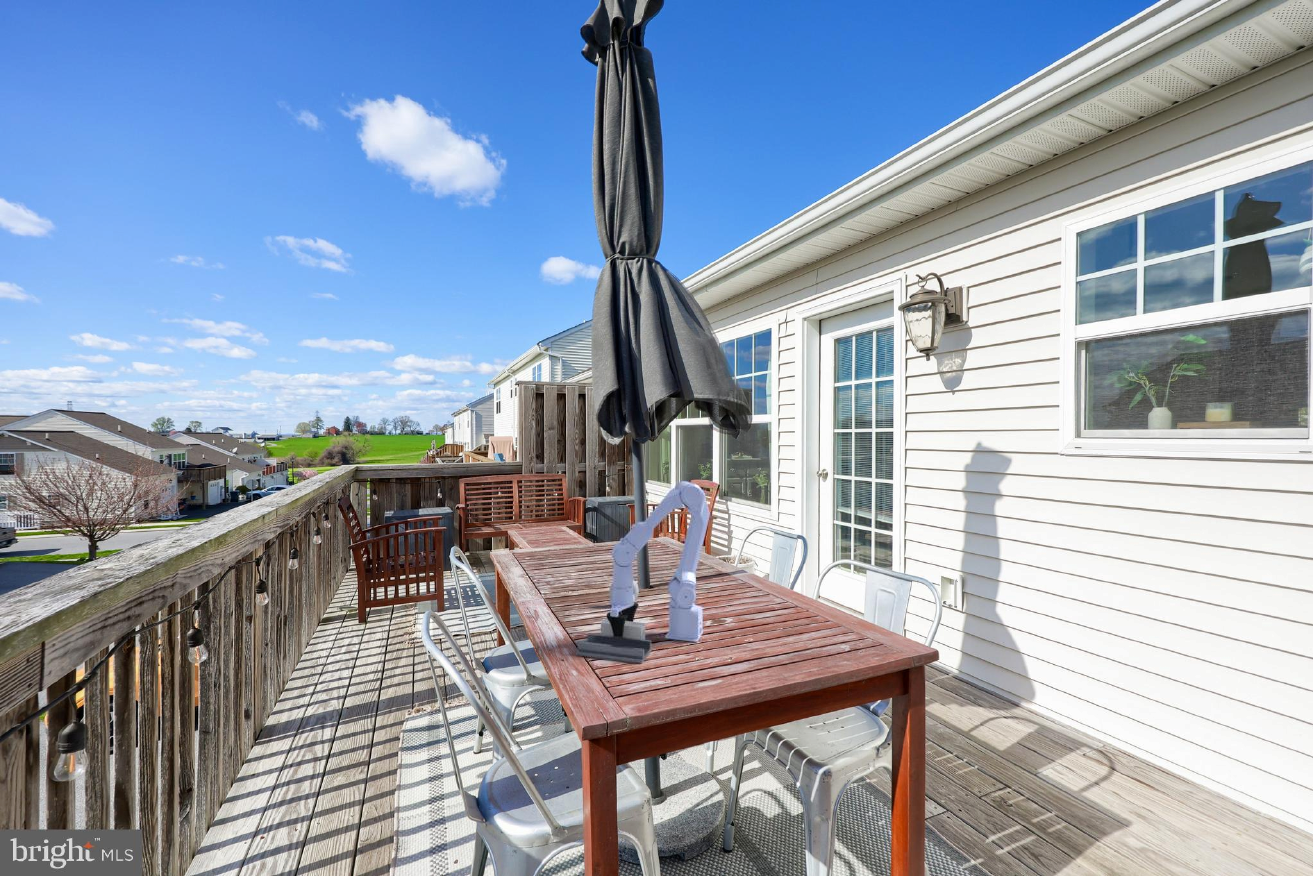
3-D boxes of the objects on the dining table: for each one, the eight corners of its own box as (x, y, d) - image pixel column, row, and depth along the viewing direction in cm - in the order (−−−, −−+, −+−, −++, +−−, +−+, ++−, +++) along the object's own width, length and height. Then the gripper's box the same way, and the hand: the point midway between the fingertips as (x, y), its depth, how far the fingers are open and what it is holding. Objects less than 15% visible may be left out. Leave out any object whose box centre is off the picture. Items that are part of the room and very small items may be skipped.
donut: (609, 608, 179) (609, 578, 179) (608, 605, 183) (608, 576, 183) (639, 607, 181) (639, 577, 181) (638, 604, 184) (638, 574, 184)
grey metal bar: (645, 640, 152) (645, 623, 152) (641, 645, 149) (641, 627, 148) (605, 636, 155) (605, 618, 155) (600, 640, 152) (600, 622, 152)
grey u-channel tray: (652, 650, 145) (652, 638, 145) (641, 663, 136) (641, 651, 136) (590, 642, 150) (590, 631, 150) (576, 655, 141) (576, 643, 141)
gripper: (618, 578, 160) (618, 624, 160) (599, 592, 146) (599, 642, 146) (641, 580, 158) (641, 626, 158) (624, 594, 144) (624, 645, 144)
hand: (623, 634), depth 152 cm, fingers open, 7 cm apart
